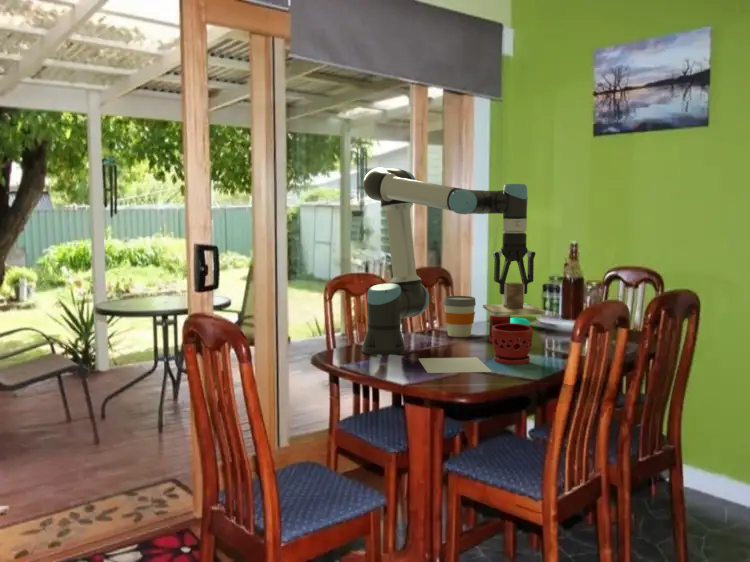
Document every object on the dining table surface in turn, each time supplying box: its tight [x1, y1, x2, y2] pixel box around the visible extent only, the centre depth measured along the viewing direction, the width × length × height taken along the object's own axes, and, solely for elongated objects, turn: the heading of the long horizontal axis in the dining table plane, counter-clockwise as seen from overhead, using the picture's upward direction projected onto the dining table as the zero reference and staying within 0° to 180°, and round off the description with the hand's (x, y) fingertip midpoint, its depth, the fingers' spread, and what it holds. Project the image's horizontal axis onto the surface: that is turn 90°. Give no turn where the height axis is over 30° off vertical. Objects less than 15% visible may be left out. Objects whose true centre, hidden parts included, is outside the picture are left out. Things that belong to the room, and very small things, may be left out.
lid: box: [482, 281, 546, 316], centre depth 220 cm, size 16×16×9 cm
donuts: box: [510, 302, 531, 326], centre depth 289 cm, size 10×10×10 cm
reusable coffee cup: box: [443, 295, 477, 338], centre depth 269 cm, size 13×13×15 cm
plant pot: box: [491, 323, 534, 365], centre depth 222 cm, size 13×13×12 cm
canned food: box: [488, 312, 511, 344], centre depth 255 cm, size 8×8×11 cm
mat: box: [417, 356, 493, 374], centre depth 217 cm, size 20×20×1 cm
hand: (513, 304), depth 220 cm, fingers closed on lid, 5 cm apart
